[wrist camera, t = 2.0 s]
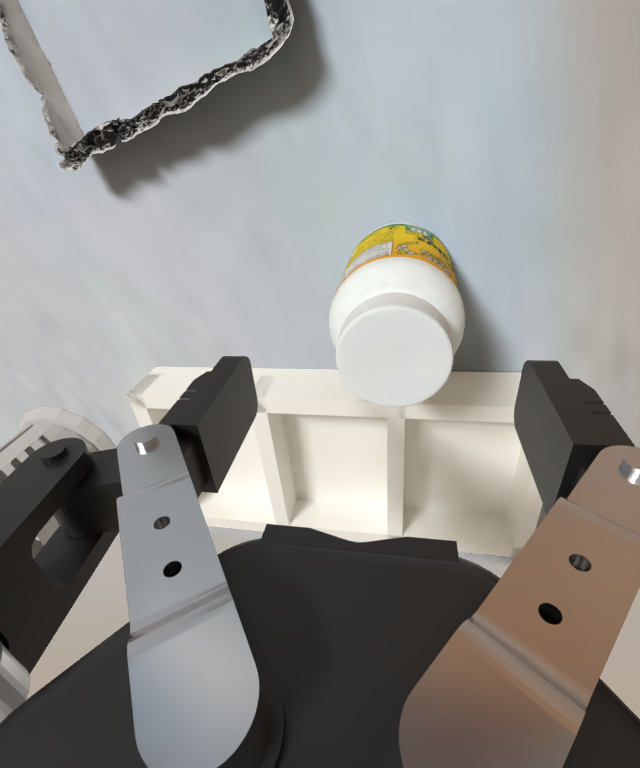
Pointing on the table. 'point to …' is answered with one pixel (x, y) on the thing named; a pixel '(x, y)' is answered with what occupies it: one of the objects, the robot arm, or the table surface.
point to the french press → (40, 431)
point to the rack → (371, 460)
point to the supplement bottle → (397, 316)
